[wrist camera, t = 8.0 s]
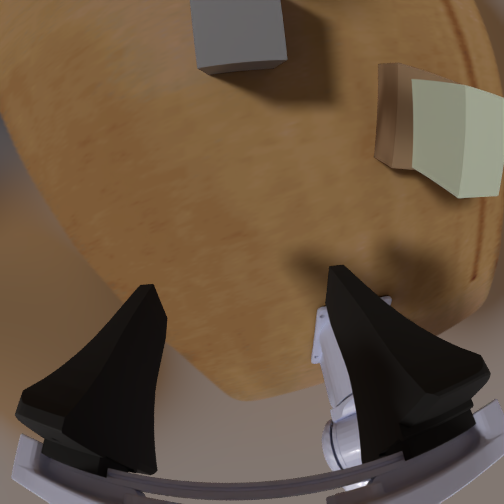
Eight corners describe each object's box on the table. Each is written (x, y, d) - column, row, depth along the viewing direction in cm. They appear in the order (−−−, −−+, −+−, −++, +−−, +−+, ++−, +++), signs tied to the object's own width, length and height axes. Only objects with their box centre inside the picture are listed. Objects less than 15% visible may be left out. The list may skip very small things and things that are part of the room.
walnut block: (439, 163, 18) (461, 175, 15) (371, 155, 18) (391, 167, 15) (447, 84, 14) (471, 88, 11) (375, 64, 14) (397, 62, 11)
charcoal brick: (273, 68, 14) (287, 59, 10) (208, 75, 14) (197, 68, 10) (264, -10, 11) (273, -41, 6) (200, -4, 11) (187, -33, 6)
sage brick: (452, 167, 15) (498, 195, 11) (411, 167, 15) (457, 198, 11) (454, 87, 11) (507, 99, 7) (411, 78, 12) (465, 85, 7)
